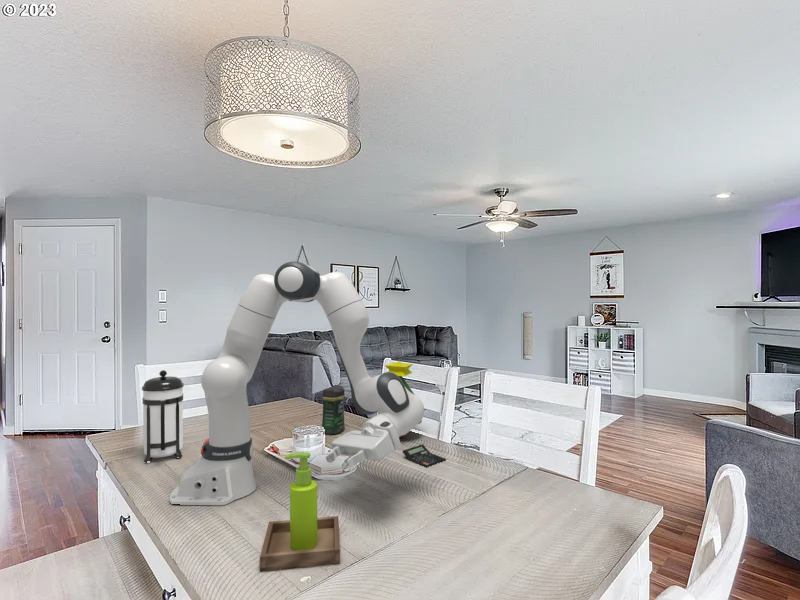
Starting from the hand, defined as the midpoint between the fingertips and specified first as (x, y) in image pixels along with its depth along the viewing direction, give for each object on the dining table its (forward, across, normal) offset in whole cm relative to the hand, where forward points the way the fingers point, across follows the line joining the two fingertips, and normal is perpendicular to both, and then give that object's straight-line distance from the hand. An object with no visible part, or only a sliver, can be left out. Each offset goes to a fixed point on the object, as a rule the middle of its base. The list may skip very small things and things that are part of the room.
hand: (337, 461), depth 109 cm
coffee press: (+23, -76, -6) cm, 79 cm away
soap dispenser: (+16, +3, +10) cm, 19 cm away
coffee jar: (-33, -64, +14) cm, 73 cm away
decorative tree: (-48, -43, +23) cm, 68 cm away
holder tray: (+17, +3, +11) cm, 20 cm away
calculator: (-38, -18, +25) cm, 49 cm away
